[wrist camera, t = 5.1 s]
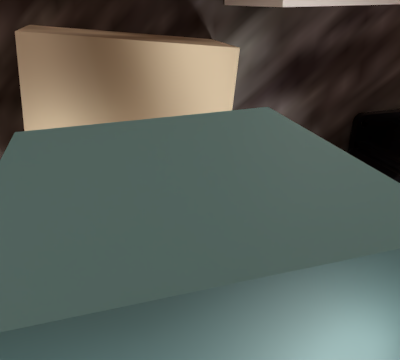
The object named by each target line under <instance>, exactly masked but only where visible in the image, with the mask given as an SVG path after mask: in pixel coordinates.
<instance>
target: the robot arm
mask: <svg viewBox="0 0 400 360" xmlns="http://www.w3.org/2000/svg"><path fill="white" fill-rule="evenodd" d="M363 120H364V123H363V124H362V125H361V123H362V121H363ZM348 154H350V155H352V156H354V157H355V158H357V159H359V160H361V161H362V162H364V163H366V164H367V165H369V166H371V167H373V168H374V169H376V170H378V171H380V172H381V173H383V174H385V175H386V176H388V177H390V178H392V179H393V180H395V181H397V182H398V183H400V109H397V110H387V111H377V112H367V113H360V114H358V115H357V116H356V117H355V118H354V121H353V126H352V132H351V138H350V144H349V150H348Z"/></svg>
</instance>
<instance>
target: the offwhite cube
mask: <svg viewBox="0 0 400 360" xmlns="http://www.w3.org/2000/svg"><path fill="white" fill-rule="evenodd" d="M390 4H400V0H224V5H235V6H262V7H312V6H351V5H390Z"/></svg>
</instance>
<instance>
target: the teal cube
mask: <svg viewBox="0 0 400 360" xmlns="http://www.w3.org/2000/svg"><path fill="white" fill-rule="evenodd" d="M0 360H400V183H398V182H397V181H395V180H393V179H392V178H390V177H388V176H386V175H385V174H383V173H381V172H380V171H378V170H376V169H374V168H373V167H371V166H369V165H367V164H366V163H364V162H362V161H361V160H359V159H357V158H355V157H354V156H352V155H350V154H348V153H347V152H345V151H343V150H342V149H340V148H338V147H336V146H335V145H333V144H331V143H330V142H328V141H326V140H324V139H323V138H321V137H319V136H317V135H316V134H314V133H312V132H311V131H309V130H307V129H305V128H304V127H302V126H300V125H299V124H297V123H295V122H293V121H292V120H290V119H288V118H286V117H285V116H283V115H281V114H280V113H278V112H276V111H274V110H273V109H271V108H269V107H262V108H252V109H242V110H232V111H222V112H212V113H202V114H192V115H182V116H172V117H162V118H152V119H142V120H132V121H122V122H112V123H102V124H92V125H82V126H72V127H62V128H52V129H42V130H32V131H22V132H15V133H14V135H13V137H12V139H11V141H10V142H9V144H8V146H7V148H6V150H5V152H4V154H3V156H2V158H1V160H0Z"/></svg>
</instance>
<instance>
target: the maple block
mask: <svg viewBox="0 0 400 360" xmlns="http://www.w3.org/2000/svg"><path fill="white" fill-rule="evenodd" d="M15 39H16V49H17V60H18V70H19V80H20V90H21V101H22V111H23V121H24V131H32V130H42V129H52V128H62V127H72V126H82V125H92V124H102V123H112V122H122V121H132V120H142V119H152V118H162V117H172V116H182V115H192V114H202V113H212V112H222V111H232V107H233V99H234V91H235V83H236V75H237V67H238V59H239V52H240V48H239V47H235V46H232V45H229V44H226V43H223V42H219V41H216V40H213V39H202V38H190V37H177V36H165V35H152V34H140V33H127V32H114V31H102V30H89V29H77V28H64V27H52V26H39V25H27V26H25V27H23V28H21V29H18V30H16V31H15Z"/></svg>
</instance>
